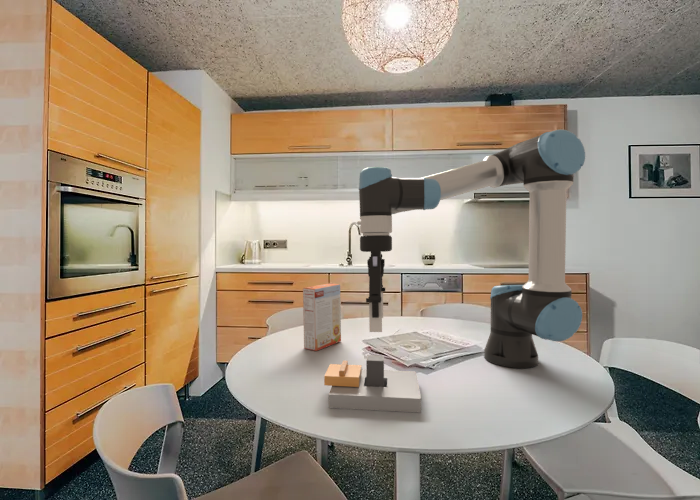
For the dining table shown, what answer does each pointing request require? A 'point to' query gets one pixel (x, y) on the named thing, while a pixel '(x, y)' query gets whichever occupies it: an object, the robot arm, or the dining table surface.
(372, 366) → the plug
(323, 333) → the cracker box
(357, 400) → the socket plate
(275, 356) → the dining table surface
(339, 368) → the orange ridged block
